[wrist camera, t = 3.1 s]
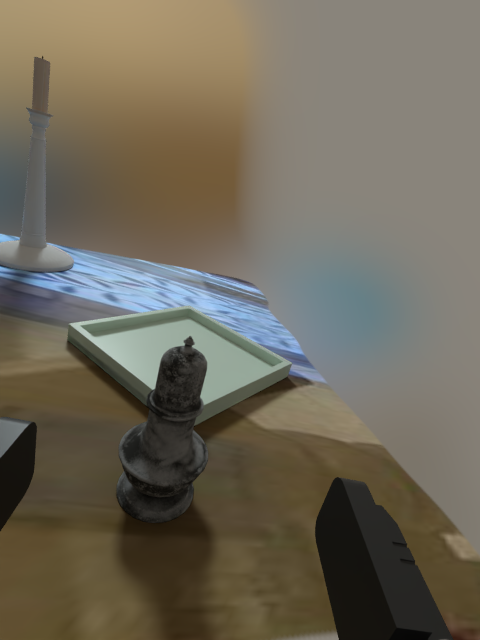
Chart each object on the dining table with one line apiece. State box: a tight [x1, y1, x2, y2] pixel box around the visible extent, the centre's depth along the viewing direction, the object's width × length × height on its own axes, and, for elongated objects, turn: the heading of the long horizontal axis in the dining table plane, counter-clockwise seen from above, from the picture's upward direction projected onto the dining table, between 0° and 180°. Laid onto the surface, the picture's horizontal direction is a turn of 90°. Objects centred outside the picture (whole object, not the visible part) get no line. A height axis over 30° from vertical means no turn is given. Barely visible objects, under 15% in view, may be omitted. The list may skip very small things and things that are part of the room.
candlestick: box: [0, 57, 74, 272], centre depth 56 cm, size 13×13×30 cm
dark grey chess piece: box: [117, 336, 208, 523], centre depth 23 cm, size 6×6×12 cm
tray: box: [67, 306, 292, 426], centre depth 43 cm, size 19×19×2 cm
